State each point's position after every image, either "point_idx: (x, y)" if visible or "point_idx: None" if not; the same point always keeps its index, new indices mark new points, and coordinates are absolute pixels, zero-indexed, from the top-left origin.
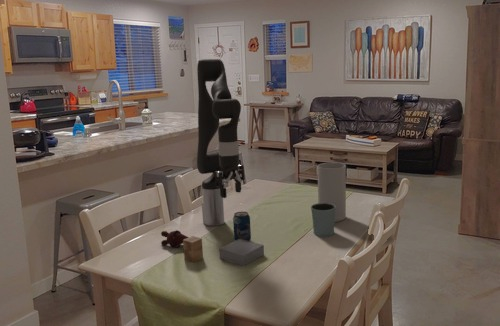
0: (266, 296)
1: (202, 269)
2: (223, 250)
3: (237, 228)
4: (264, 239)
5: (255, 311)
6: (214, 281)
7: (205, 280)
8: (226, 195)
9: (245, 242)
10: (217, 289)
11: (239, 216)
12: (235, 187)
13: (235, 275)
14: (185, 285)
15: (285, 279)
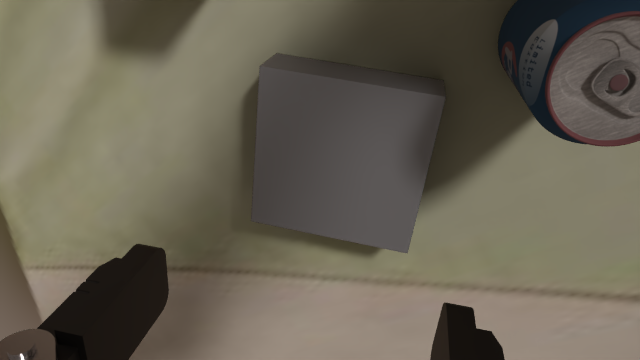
0: None
1: (139, 51)
2: (259, 96)
3: (512, 57)
4: None
5: None
6: (100, 161)
7: (83, 125)
8: (154, 321)
9: (400, 156)
10: (70, 200)
11: (546, 99)
12: (448, 348)
13: (182, 206)
14: (7, 79)
15: (254, 354)
